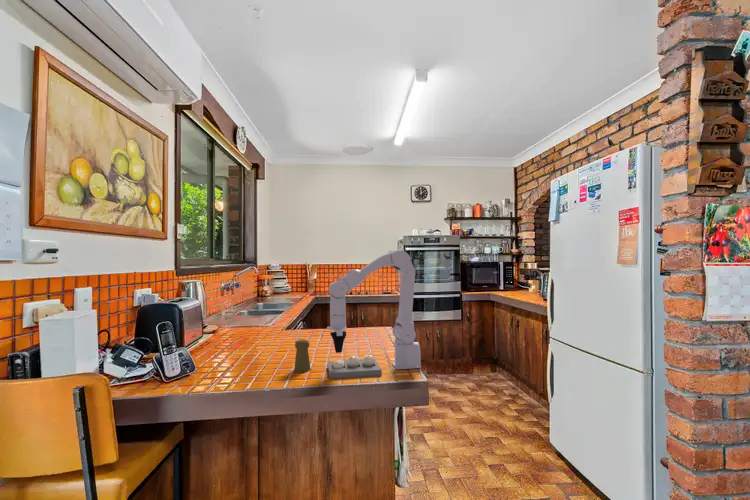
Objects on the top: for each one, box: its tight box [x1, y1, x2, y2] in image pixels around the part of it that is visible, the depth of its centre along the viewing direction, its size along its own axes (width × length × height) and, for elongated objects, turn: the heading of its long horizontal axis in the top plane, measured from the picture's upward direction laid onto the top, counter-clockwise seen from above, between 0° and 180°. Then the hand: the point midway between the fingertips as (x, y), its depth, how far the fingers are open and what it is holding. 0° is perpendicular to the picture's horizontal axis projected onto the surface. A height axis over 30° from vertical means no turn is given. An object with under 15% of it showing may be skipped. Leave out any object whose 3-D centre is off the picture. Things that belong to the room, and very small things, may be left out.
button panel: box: [327, 358, 383, 380], centre depth 134 cm, size 18×14×2 cm
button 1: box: [362, 354, 375, 366], centre depth 135 cm, size 4×4×3 cm
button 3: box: [332, 360, 345, 369], centre depth 133 cm, size 4×4×3 cm
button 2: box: [347, 355, 360, 367], centre depth 134 cm, size 4×4×3 cm
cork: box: [293, 338, 312, 373], centre depth 137 cm, size 6×6×11 cm
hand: (338, 352), depth 133 cm, fingers closed
